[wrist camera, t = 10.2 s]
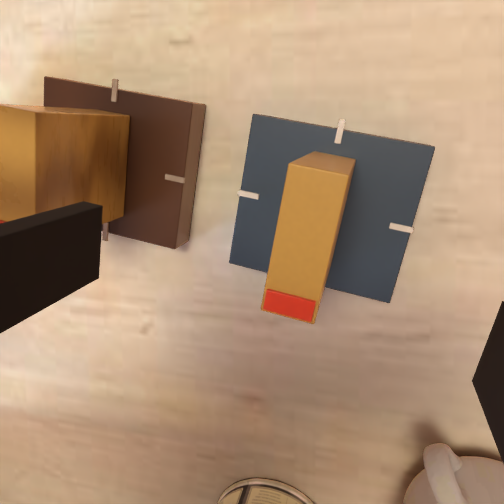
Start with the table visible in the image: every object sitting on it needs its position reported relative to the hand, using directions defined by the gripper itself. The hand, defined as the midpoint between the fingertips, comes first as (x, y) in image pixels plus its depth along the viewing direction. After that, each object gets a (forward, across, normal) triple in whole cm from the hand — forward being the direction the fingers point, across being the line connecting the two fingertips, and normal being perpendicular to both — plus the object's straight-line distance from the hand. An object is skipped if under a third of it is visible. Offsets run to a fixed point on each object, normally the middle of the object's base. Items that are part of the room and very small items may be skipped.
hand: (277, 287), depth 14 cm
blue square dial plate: (+17, 0, 0) cm, 17 cm away
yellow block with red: (+14, -15, 0) cm, 21 cm away
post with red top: (+15, 0, 0) cm, 15 cm away
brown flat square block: (+17, -15, 0) cm, 23 cm away
